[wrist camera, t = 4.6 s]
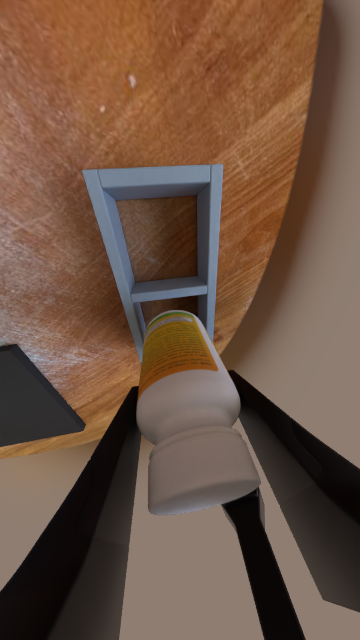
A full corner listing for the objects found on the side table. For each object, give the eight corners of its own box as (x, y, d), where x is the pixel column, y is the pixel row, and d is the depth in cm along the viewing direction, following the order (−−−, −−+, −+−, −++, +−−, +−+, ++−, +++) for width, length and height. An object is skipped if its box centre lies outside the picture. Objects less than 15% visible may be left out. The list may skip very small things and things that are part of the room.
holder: (203, 335, 19) (212, 353, 16) (143, 344, 19) (141, 365, 16) (206, 182, 11) (223, 163, 8) (101, 187, 11) (80, 169, 8)
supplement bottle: (132, 338, 13) (88, 528, 4) (173, 295, 11) (220, 460, 3) (175, 363, 15) (200, 518, 7) (214, 330, 14) (304, 477, 5)
